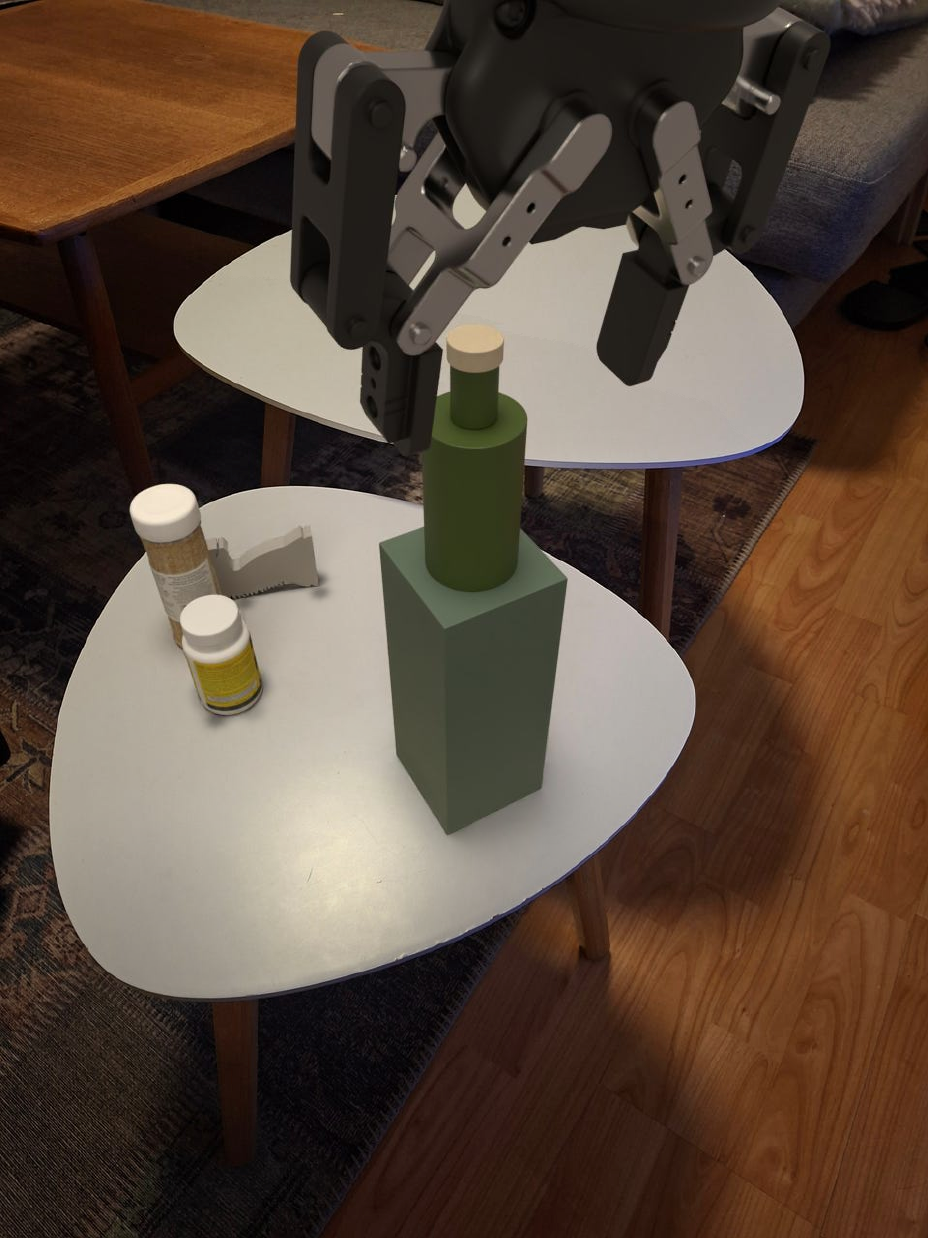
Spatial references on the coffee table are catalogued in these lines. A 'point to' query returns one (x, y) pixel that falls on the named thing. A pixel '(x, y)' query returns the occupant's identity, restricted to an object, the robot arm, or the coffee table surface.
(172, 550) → the sprinkles bottle
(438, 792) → the pedestal
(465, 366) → the olive bottle
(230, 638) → the supplement bottle
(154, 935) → the coffee table surface
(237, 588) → the grey tape dispenser
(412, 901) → the coffee table surface
